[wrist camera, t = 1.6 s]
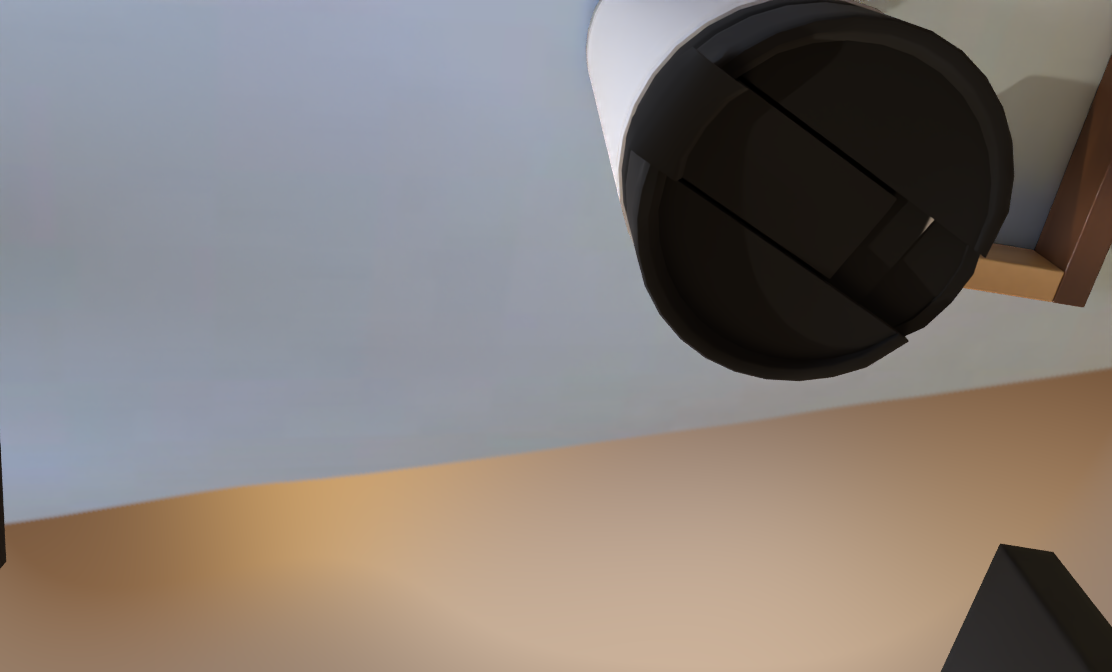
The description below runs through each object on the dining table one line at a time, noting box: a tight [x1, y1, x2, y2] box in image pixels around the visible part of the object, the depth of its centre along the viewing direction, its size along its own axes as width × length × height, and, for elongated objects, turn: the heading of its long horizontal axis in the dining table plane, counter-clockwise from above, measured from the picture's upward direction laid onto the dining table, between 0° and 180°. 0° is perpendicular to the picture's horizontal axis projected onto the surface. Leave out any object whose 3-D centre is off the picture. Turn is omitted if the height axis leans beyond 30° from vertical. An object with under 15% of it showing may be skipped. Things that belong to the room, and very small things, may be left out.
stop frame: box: [963, 55, 1112, 307], centre depth 33 cm, size 12×10×2 cm
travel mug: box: [586, 0, 1014, 381], centre depth 24 cm, size 6×7×20 cm
